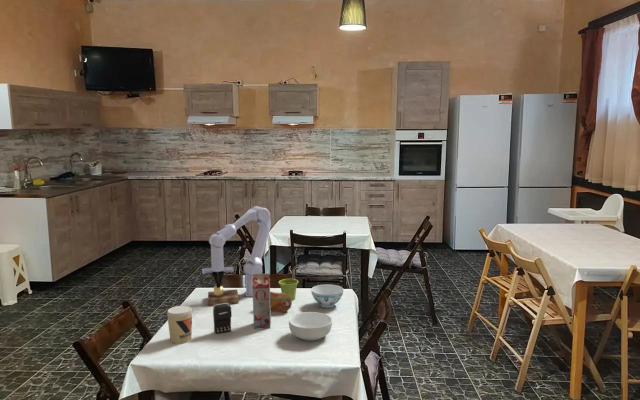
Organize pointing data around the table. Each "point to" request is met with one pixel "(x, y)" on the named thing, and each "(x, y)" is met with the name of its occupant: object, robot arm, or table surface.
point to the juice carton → (261, 301)
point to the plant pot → (289, 287)
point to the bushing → (218, 291)
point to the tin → (280, 302)
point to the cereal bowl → (310, 325)
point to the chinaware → (327, 294)
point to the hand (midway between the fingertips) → (218, 286)
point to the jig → (223, 298)
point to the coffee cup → (180, 324)
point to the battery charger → (222, 318)
